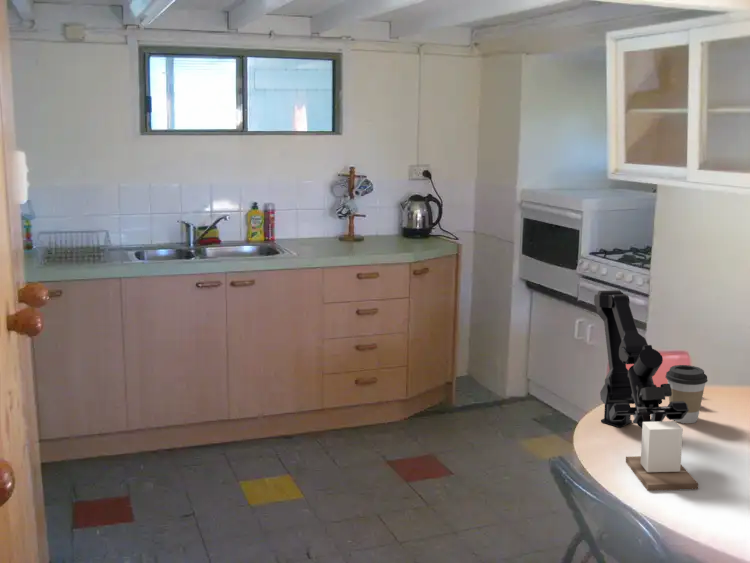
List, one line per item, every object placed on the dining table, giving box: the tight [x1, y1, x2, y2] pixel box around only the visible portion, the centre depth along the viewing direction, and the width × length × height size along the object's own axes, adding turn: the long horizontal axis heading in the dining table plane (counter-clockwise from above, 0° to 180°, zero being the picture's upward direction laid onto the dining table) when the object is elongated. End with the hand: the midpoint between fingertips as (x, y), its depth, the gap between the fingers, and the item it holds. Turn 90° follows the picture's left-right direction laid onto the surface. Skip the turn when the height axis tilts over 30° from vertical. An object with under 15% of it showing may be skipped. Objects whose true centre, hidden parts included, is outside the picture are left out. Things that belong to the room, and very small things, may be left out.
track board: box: [625, 455, 699, 492], centre depth 199 cm, size 16×12×2 cm
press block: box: [640, 420, 684, 472], centre depth 199 cm, size 6×8×11 cm
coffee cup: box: [665, 364, 708, 424], centre depth 233 cm, size 11×11×15 cm
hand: (655, 442), depth 202 cm, fingers closed
